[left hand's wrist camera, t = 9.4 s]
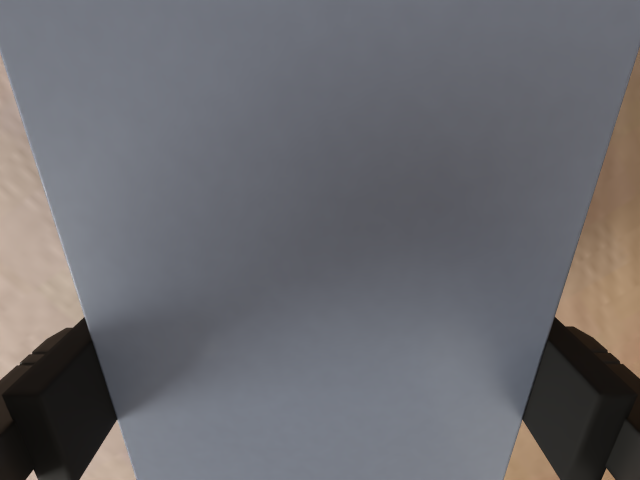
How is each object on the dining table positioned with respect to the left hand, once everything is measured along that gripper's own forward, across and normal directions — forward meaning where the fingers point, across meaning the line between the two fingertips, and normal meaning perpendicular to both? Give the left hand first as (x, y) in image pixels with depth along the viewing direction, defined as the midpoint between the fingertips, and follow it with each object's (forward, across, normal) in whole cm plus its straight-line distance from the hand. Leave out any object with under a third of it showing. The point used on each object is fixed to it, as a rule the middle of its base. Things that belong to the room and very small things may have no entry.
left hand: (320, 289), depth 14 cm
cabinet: (+3, 0, -6) cm, 7 cm away
